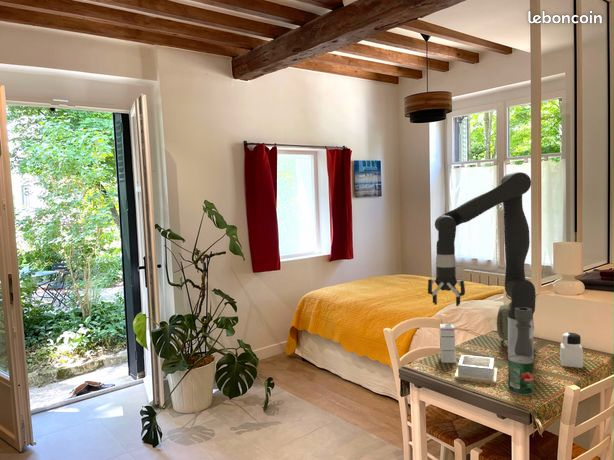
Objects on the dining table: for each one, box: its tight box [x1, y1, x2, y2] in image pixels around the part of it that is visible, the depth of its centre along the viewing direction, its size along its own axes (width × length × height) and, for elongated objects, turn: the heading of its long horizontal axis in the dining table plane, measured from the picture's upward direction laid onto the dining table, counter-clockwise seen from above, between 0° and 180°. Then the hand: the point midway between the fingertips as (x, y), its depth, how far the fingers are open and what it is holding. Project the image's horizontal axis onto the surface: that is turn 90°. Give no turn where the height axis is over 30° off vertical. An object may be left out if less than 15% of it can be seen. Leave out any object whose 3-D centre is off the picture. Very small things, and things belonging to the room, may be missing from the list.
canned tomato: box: [507, 355, 535, 396], centre depth 156 cm, size 8×8×11 cm
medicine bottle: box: [559, 332, 584, 369], centre depth 179 cm, size 7×7×12 cm
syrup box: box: [438, 323, 457, 364], centre depth 188 cm, size 6×6×14 cm
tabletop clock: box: [496, 293, 535, 345], centre depth 200 cm, size 14×9×25 cm, turn 65°
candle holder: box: [514, 307, 534, 357], centre depth 168 cm, size 6×6×25 cm
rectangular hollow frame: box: [454, 354, 499, 385], centre depth 172 cm, size 14×14×5 cm
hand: (446, 304), depth 186 cm, fingers open, 8 cm apart
